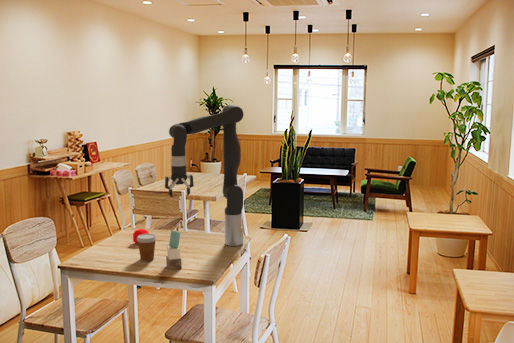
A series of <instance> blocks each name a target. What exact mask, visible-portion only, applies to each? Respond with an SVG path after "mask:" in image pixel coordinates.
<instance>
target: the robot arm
mask: <svg viewBox="0 0 514 343" xmlns="http://www.w3.org/2000/svg"><path fill="white" fill-rule="evenodd" d="M222 108H223V109H222V111H221V112H219V113H216V114H215V113H214V114H210V115H206V116H201V117H197V118H194V119H192V120H189V121H184V122H180V123H176V124H172V125H171V126H170V128H169V130H168V134H169V136H170V137H171V138H173V142H172V143H173V144H172V145H171V148H170V150H171V157H170V158H171V159H170V167H171V168H170V170H171V174H170V175H171V176H167V175H166V176H165V177H164V188H165V189H167V190H168V195H169V197H170V198H173V188H174V187H175V186H176V185H177V186H178V185H185V186H186V196H187V197H188V196H190V194H191V188H194V186H195V185H194V176H193V175H192V174H189V175H188V174H187V155H186V144H187V138H188V135H194V134H198V133H199V134H200V133H203V132H204V131H205V132H206V131H208V130H210V129H213V128H215V127H220V126H222V131H223V132H222V133H223V148H222V149H223V153H222V154H223V184H222V194H223V197H224V198H225V199H226V207H225V208H224V244H226V245H225V246H227V245H228V247H240V246H241V245H244V227H243V226H242V225H243V212H242V211H243V209H244V208H243V207H244V192H243V188H242V187H241V186H239V185H238V170H239V167H240V164H241V158H242V155H241V152H242V150H241V144H240V140H239V138H238V135H237V123H239V122H241V121H242V119H243V118H244V111H243V109H242V107H240V106H238V105H235V104H234V105H232V104H228V105H225V106H224V107H222ZM187 179H188V180H189V183H188V182H187ZM170 180H171V183H170V185H169V182H170Z"/></svg>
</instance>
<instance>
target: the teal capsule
mask: <svg viewBox="0 0 514 343" xmlns="http://www.w3.org/2000/svg"><path fill="white" fill-rule="evenodd" d="M180 238H181V232H180V231H178V230H171V232H170V238H169V243H168V246H170V247H179V245H180Z"/></svg>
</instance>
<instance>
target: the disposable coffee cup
mask: <svg viewBox="0 0 514 343" xmlns="http://www.w3.org/2000/svg"><path fill="white" fill-rule="evenodd" d="M156 240H157V237H156V234H153V233H149V234H141V235H139V236H138V237H137V241H138V244H137V245H138V250H139V255H140V260H141V261H142V262H151V261H153V260H155V249H156Z"/></svg>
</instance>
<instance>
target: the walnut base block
mask: <svg viewBox="0 0 514 343" xmlns="http://www.w3.org/2000/svg"><path fill="white" fill-rule="evenodd" d="M165 263H166V267H167V270H168V271H174V270H175V271H176V270H182V257H180V259H173V260H169V258H168V255H167V256H166V262H165Z"/></svg>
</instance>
